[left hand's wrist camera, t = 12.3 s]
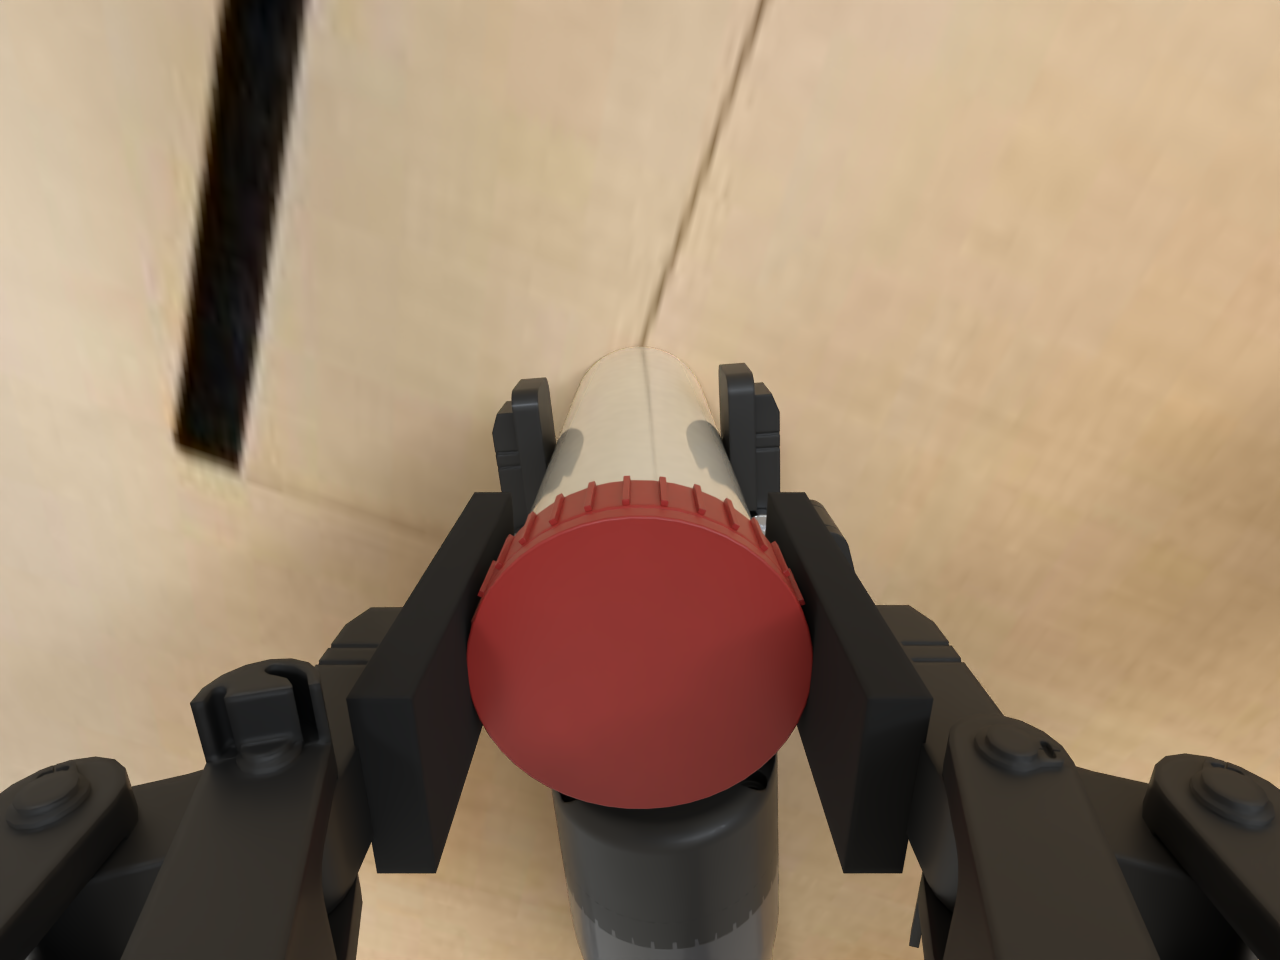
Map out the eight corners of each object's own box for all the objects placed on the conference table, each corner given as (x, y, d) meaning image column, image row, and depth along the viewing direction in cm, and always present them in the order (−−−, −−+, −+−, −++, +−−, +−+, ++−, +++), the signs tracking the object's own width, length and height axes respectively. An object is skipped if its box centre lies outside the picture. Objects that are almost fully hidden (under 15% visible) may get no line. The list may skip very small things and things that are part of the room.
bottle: (647, 317, 24) (659, 452, 10) (731, 419, 25) (855, 674, 11) (546, 404, 25) (420, 643, 11) (632, 498, 27) (624, 824, 12)
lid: (660, 405, 11) (663, 434, 9) (858, 637, 12) (888, 693, 11) (417, 605, 12) (384, 658, 10) (623, 793, 13) (621, 863, 12)
